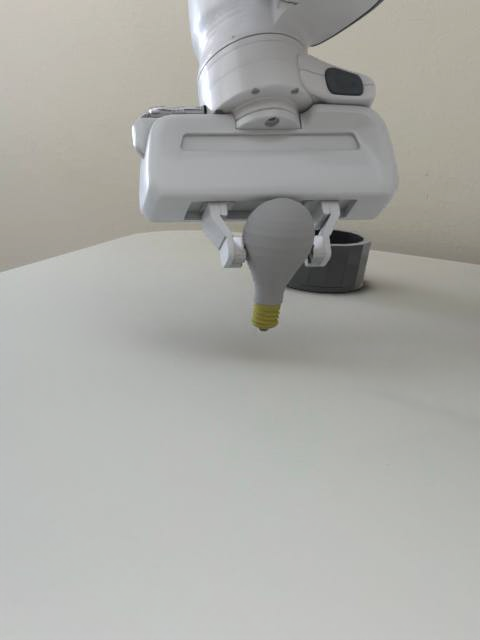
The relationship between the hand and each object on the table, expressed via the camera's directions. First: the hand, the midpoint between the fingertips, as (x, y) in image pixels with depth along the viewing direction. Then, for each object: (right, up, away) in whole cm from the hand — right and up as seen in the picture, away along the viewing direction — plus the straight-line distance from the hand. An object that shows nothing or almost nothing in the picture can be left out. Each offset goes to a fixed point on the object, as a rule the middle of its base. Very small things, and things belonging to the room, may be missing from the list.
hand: (277, 263), depth 77 cm
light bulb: (0, -4, +4) cm, 6 cm away
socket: (+12, +8, +26) cm, 30 cm away
